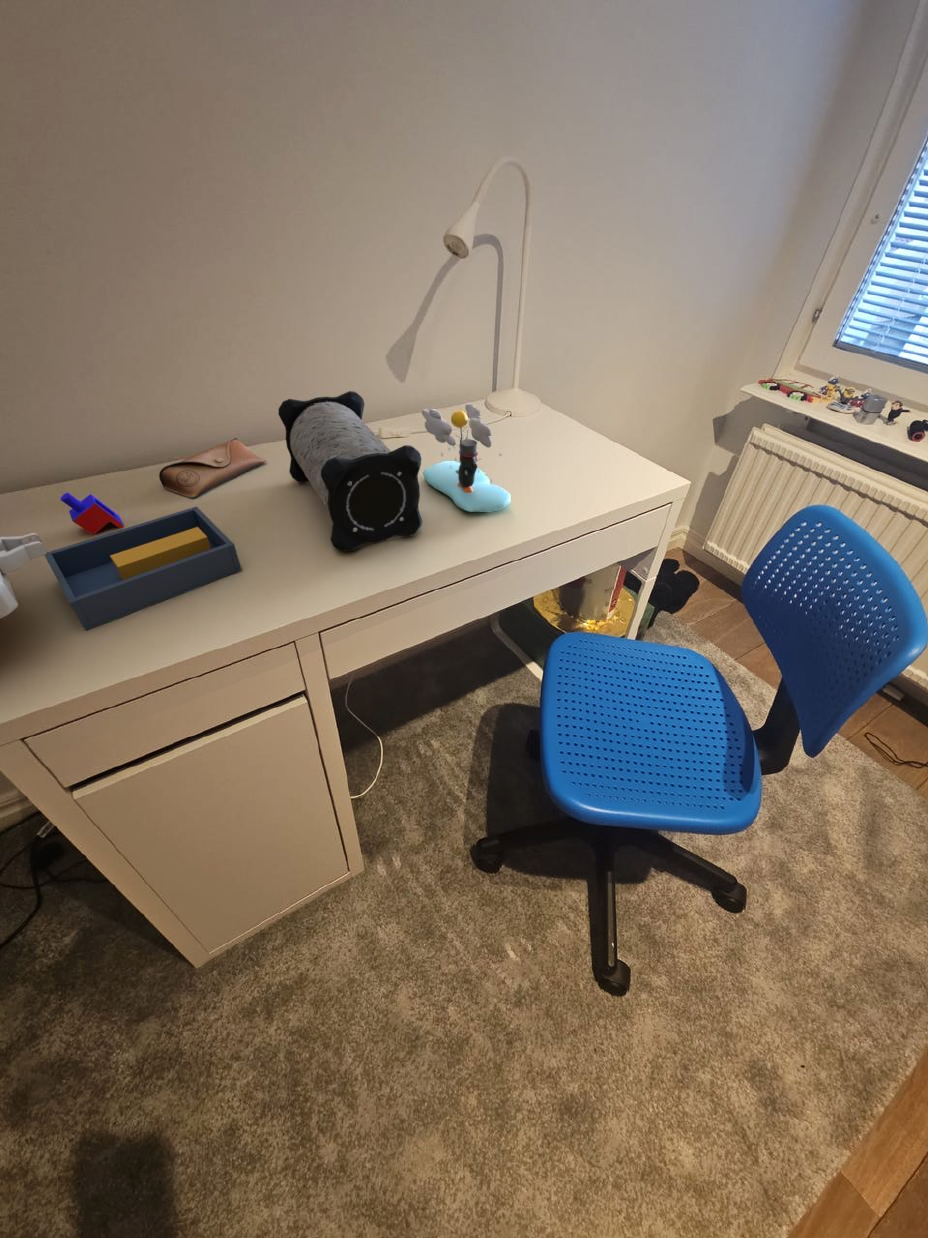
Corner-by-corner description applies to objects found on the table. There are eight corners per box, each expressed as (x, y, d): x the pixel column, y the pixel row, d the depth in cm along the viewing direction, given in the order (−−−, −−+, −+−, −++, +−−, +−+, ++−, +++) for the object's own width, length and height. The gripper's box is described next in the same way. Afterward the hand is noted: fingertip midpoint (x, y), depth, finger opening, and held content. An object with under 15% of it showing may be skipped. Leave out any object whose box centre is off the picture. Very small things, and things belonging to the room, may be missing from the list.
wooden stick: (117, 567, 72) (207, 536, 78) (109, 555, 73) (197, 526, 80) (127, 587, 74) (213, 556, 80) (119, 575, 76) (204, 546, 82)
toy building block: (98, 532, 88) (51, 498, 81) (119, 515, 88) (74, 480, 82) (102, 542, 86) (54, 508, 79) (123, 524, 86) (78, 490, 80)
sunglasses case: (194, 498, 93) (170, 461, 90) (176, 507, 97) (153, 473, 95) (269, 460, 105) (250, 427, 102) (251, 469, 109) (232, 438, 107)
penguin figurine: (519, 509, 95) (529, 424, 85) (467, 524, 90) (471, 436, 80) (462, 464, 108) (465, 386, 98) (414, 475, 103) (412, 394, 93)
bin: (85, 631, 68) (69, 602, 65) (58, 580, 75) (43, 553, 72) (242, 570, 79) (234, 544, 76) (205, 531, 86) (196, 505, 83)
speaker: (366, 465, 106) (359, 386, 96) (426, 537, 87) (425, 448, 77) (289, 479, 100) (273, 397, 90) (336, 559, 81) (322, 466, 72)
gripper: (-94, 567, 66) (36, 529, 73) (-77, 658, 55) (75, 603, 62) (-129, 522, 62) (12, 487, 69) (-119, 610, 51) (48, 558, 58)
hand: (42, 542), depth 66 cm, fingers closed
